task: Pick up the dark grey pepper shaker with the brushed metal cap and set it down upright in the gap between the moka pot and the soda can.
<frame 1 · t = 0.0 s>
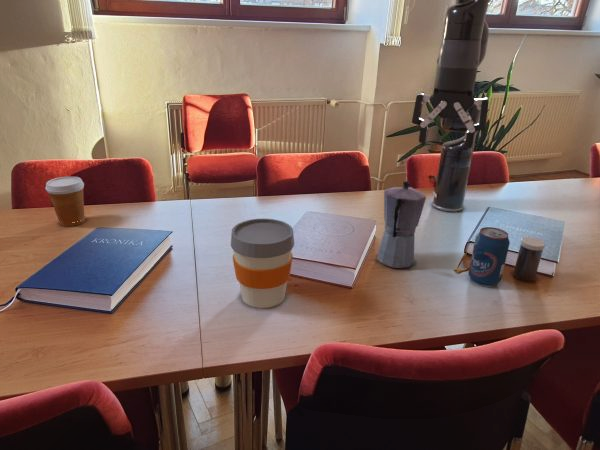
hand: (444, 147, 92), 29 cm above the table, tool pointing down, fingers open, 8 cm apart
disposable coffee cup: (72, 222, 125), on the table
moka pot: (395, 262, 107), on the table
reusable coffee cup: (263, 296, 93), on the table
soda can: (483, 281, 100), on the table
pepper shaker: (523, 276, 102), on the table
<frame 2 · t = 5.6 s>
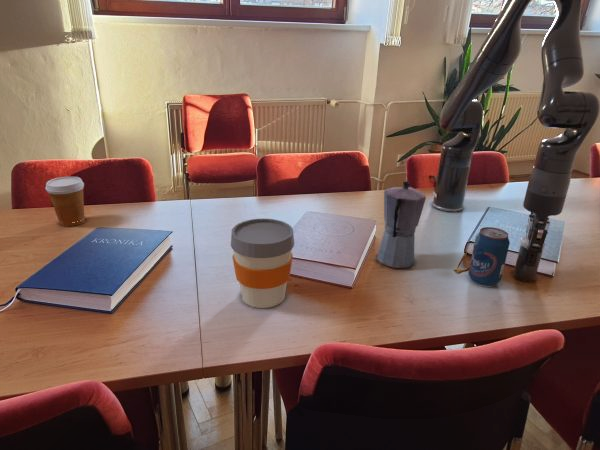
hand: (528, 259, 100), 4 cm above the table, tool pointing down, fingers closed on pepper shaker, 4 cm apart
pepper shaker: (523, 276, 102), on the table, touching gripper
everything else where it was.
when the fingers open (4 cm above the table, at t = 13.7 s): pepper shaker stays where it is, on the table.
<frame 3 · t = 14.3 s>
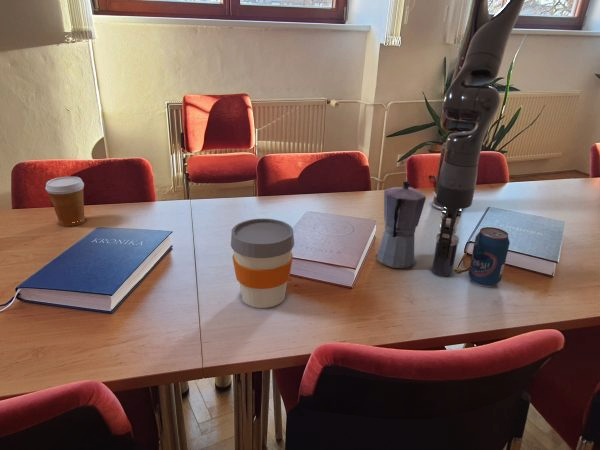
hand: (445, 249, 101), 6 cm above the table, tool pointing down, fingers open, 8 cm apart
pepper shaker: (441, 271, 103), on the table
everything else where it was.
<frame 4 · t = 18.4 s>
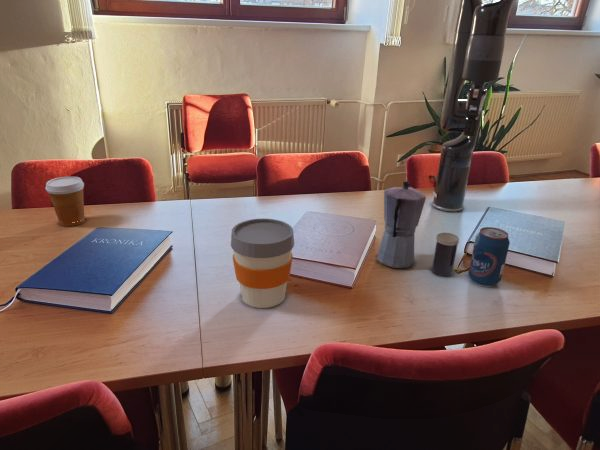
hand: (470, 132, 103), 30 cm above the table, tool pointing down, fingers open, 8 cm apart
nothing on the table moved.
at the end: pepper shaker inside the target area (0.0 cm from its centre), on the table; pepper shaker tilted 0°; the gripper is holding nothing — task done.
